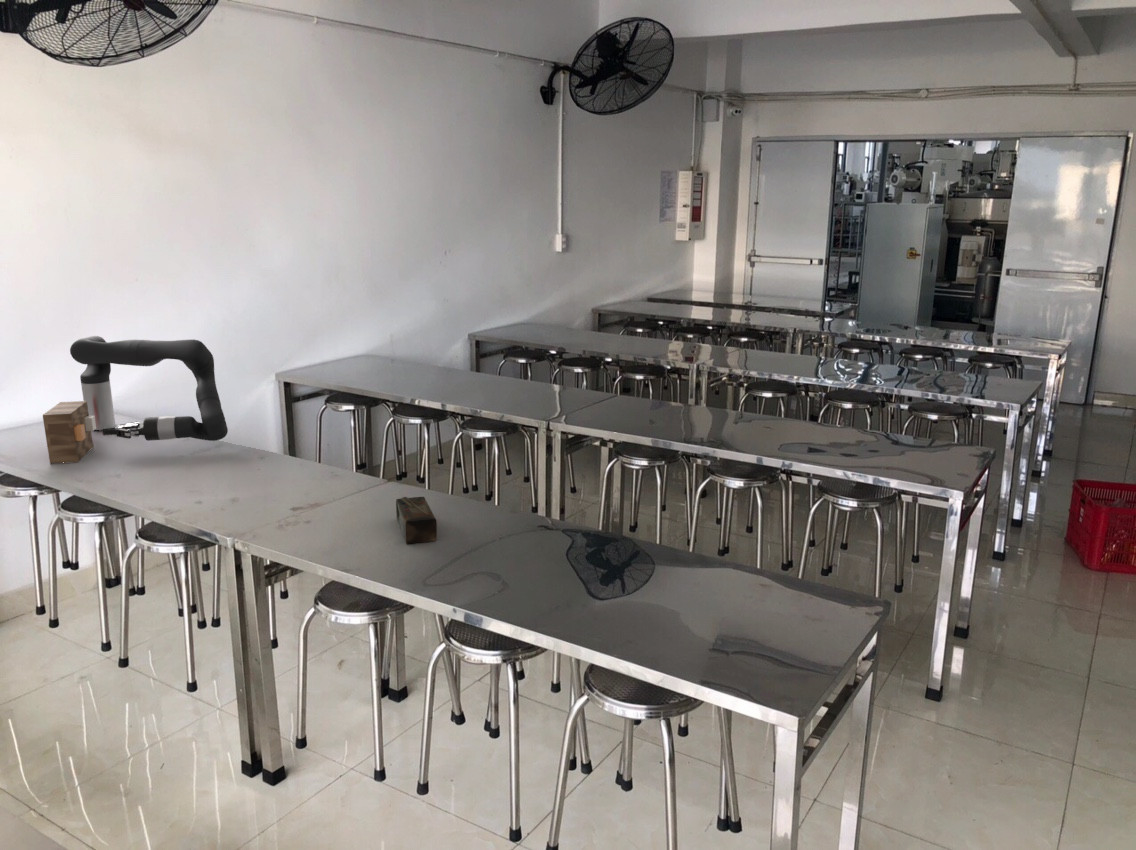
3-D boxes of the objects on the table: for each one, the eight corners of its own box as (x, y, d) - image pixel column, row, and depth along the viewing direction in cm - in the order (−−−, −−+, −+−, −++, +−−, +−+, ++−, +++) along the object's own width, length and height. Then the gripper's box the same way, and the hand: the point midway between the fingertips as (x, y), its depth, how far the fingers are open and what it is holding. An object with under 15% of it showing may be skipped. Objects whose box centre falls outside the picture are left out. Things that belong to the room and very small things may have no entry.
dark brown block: (426, 516, 238) (425, 493, 237) (438, 542, 221) (437, 517, 219) (396, 519, 236) (394, 496, 234) (405, 546, 218) (404, 521, 217)
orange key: (68, 438, 287) (67, 425, 286) (86, 437, 288) (84, 424, 287) (65, 441, 283) (63, 428, 282) (82, 440, 284) (80, 427, 283)
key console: (67, 448, 300) (60, 402, 296) (93, 447, 302) (86, 400, 298) (50, 464, 283) (42, 414, 279) (77, 462, 285) (70, 413, 281)
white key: (79, 429, 298) (77, 416, 297) (96, 428, 299) (94, 415, 298) (76, 431, 295) (74, 418, 294) (93, 430, 296) (91, 418, 295)
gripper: (158, 444, 285) (99, 448, 282) (166, 434, 298) (109, 437, 294) (155, 422, 283) (96, 425, 280) (164, 412, 296) (107, 415, 292)
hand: (103, 431), depth 287 cm, fingers closed
